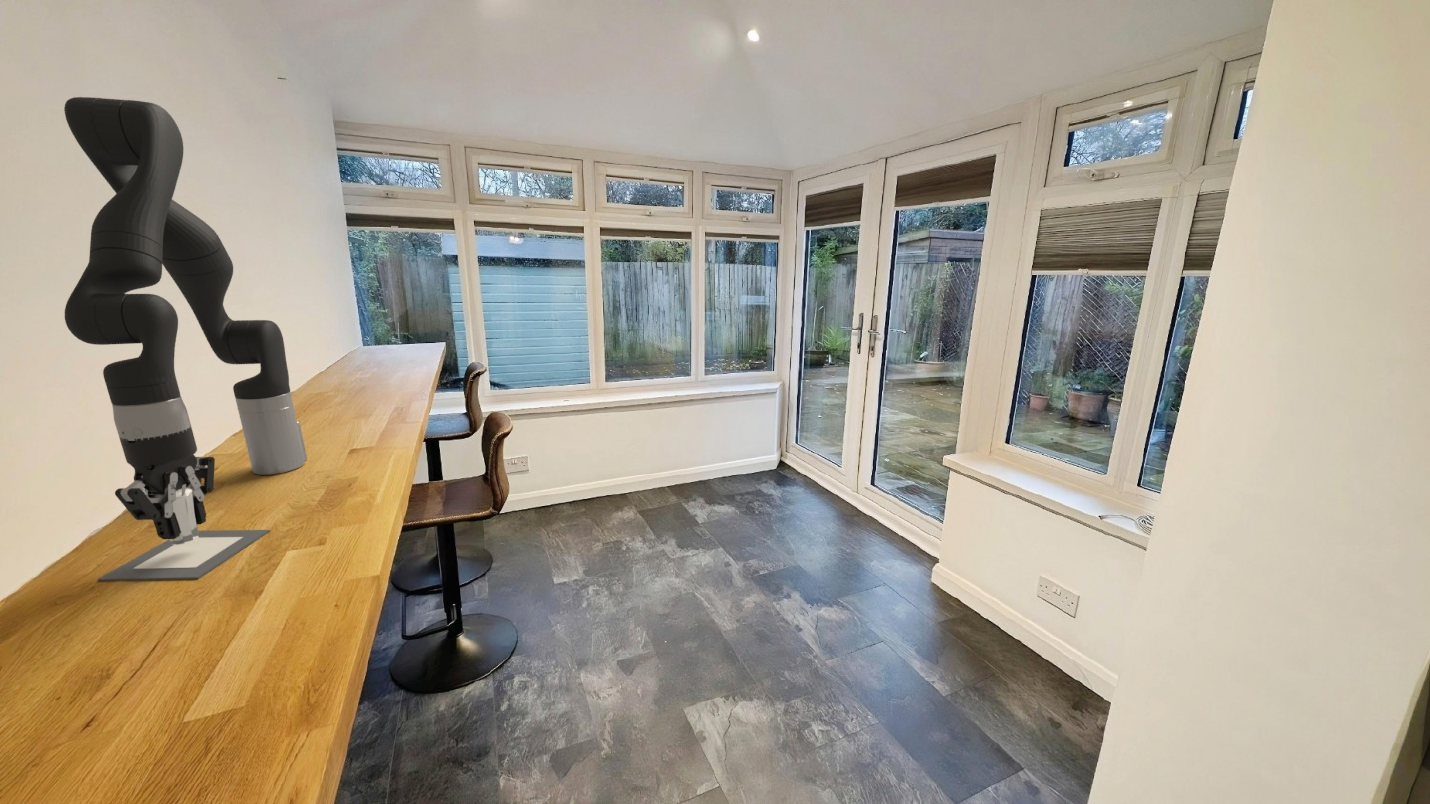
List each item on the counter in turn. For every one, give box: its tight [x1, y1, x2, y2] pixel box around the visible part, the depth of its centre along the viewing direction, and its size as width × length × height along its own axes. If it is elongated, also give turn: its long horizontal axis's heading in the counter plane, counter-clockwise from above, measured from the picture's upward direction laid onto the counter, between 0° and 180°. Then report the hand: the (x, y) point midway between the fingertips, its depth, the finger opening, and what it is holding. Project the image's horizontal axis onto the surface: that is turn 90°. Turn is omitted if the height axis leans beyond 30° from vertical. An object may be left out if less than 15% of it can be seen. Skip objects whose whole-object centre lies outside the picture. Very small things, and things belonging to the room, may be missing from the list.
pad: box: [97, 529, 271, 582], centre depth 83 cm, size 14×14×1 cm
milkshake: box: [155, 484, 199, 545], centre depth 81 cm, size 4×5×10 cm
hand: (184, 530), depth 82 cm, fingers closed on milkshake, 4 cm apart
